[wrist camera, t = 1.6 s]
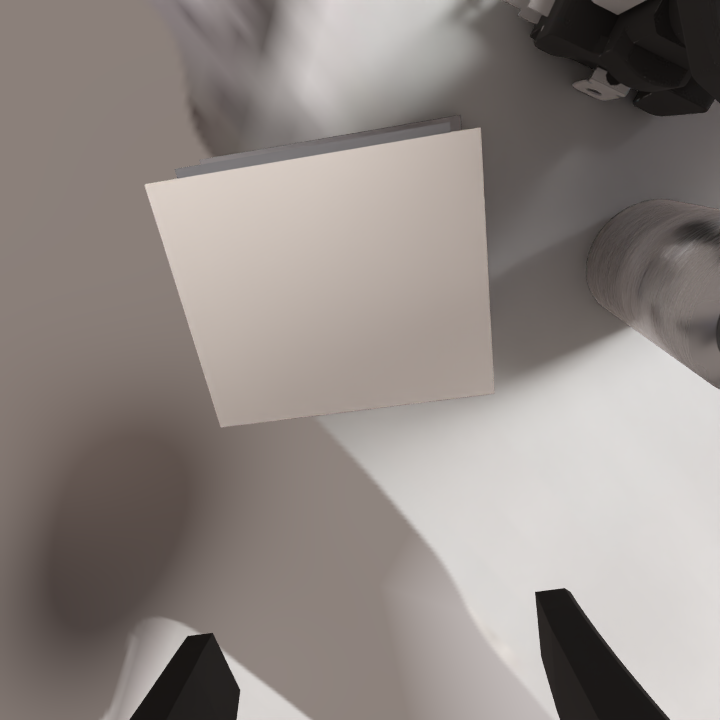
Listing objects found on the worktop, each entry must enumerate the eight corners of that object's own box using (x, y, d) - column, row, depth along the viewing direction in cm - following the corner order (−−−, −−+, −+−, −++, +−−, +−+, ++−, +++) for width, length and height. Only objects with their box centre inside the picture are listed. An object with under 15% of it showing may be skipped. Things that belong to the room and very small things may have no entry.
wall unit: (457, 116, 15) (505, 100, 10) (471, 323, 18) (515, 405, 12) (205, 159, 16) (115, 168, 10) (256, 353, 18) (206, 442, 13)
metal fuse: (716, 189, 16) (930, 219, 10) (701, 308, 17) (876, 397, 11) (588, 209, 16) (716, 250, 10) (584, 323, 18) (693, 418, 12)
